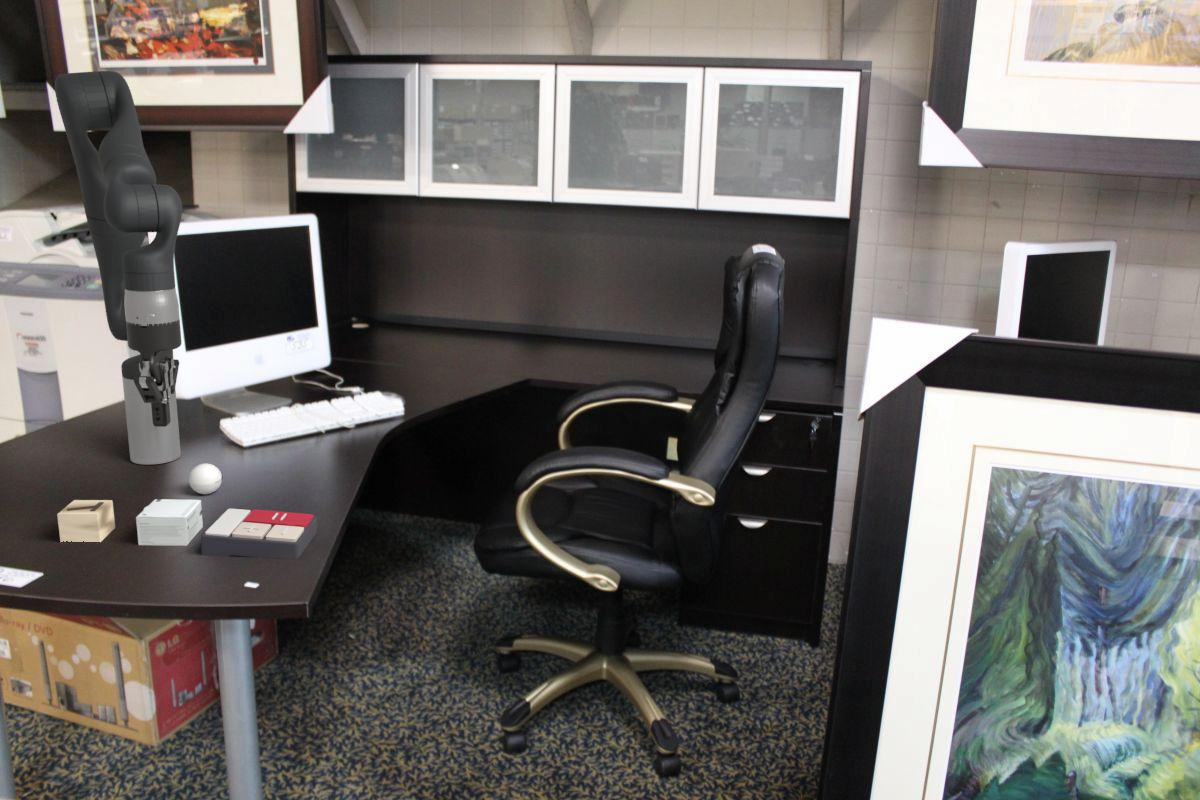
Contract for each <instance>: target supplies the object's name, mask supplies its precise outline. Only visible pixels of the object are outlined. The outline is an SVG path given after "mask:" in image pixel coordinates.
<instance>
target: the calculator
mask: <svg viewBox="0 0 1200 800" xmlns="http://www.w3.org/2000/svg"><path fill="white" fill-rule="evenodd" d="M317 532H318V517H317V516H315V515H314V514H311V513H303V512H300V513H299V512H292V511H291V512H290V511H289V512H288V511H280V510H278V511H277V510H268V509H267V510H265V509H253V510H251V509H240V508H239V509H238V508H227V509H226V510H225V511H224V512H223V513H222V514H220V516H219V517H217V519H216V520H214V522H213V523H212V524H211V525H210V526H208V528H207V529H206V530H205V531H204V532H203V533H202V534H201V538H200V540H201V541H200V544H201V546H200V549H201V550H200V551H201V556H203V557H204V556H205V557H207V556H208V557H230V556H237V557H248V558H263V559H288V560H289V559H290V560H295V559H299V558H300V556H301V555H302V553H303V552H304V551H305V550H306V548H307V546H308V545H309V544H310V542H311V541H312V540H313V538H314V536H315V535H316V534H317Z"/></svg>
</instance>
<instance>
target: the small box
mask: <svg viewBox="0 0 1200 800" xmlns="http://www.w3.org/2000/svg"><path fill="white" fill-rule="evenodd" d="M202 509H203V508H202V500H201V499H174V498H173V499H172V498H171V499H170V498H168V499H167V498H161V499H160V498H158V499H157V498H156V499H154V500H152V501H151V502H150V503H149V504H148V505H147V506H144V508H143V510H142V511H141V512H140V513H139V514H138V515H137V516H136V517H135V523H136V531H137V532H136V533H137V543H138V544H137V545H138V546H167V547H168V546H170V547H172V546H177V547H179V546H180V547H181V546H185V547H186V546H188V545H189V543H190V542H191V541H192V540H193V539H194V537H195V536H196V535H197V534H198V533H199V532H200V531H201V530H202V529H203V528H204V526H203V525H204V524H203V523H204V522H203V510H202Z"/></svg>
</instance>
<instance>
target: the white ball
mask: <svg viewBox="0 0 1200 800" xmlns="http://www.w3.org/2000/svg"><path fill="white" fill-rule="evenodd" d="M222 479H223V475H222V472H221V471H220V469H219V468H218V467H217V466H215V465H214V464H212V463H205V462H204V463H200V464H198V465H195V466H194V468H193V469H191V471H190V473H189V477H188V483H189V487H190V488H191V489H192V490H193V491H194V492H196V493H197V494H200V495H210V494H212V493H214V492H216V491H217V490H218V489H219V488H220V487H221V484H222V481H223V480H222Z"/></svg>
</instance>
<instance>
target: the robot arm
mask: <svg viewBox="0 0 1200 800" xmlns="http://www.w3.org/2000/svg"><path fill="white" fill-rule="evenodd" d="M54 92H55V98H56V103H57V106H58V109H59V114H60V116H61V120H62V123H63V126H64V131H65V133H66V136H67V140H68V144H69V146H70V151H71V154H72V158H73V161H74V165H75V169H76V173H77V177H78V183H79V187H80V192H81V197H82V202H83V208H84V212H85V217H86V220H87V221H86V222H87V226H88V231H89V233H90V237H91V242H92V245H93V248H94V249H93V250H94V253H95V256H96V260H97V264H98V269H99V274H100V280H101V288H102V294H103V300H104V302H103V303H104V307H105V314H106V315H105V316H106V320H107V325H108V328H109V331H110V333H111V336H112V337H113V338H114V339H116V340H118V341H123V342H127V346H128V348H129V350H131V351H134V352H135V351H136V352H138V353H139V354H138V355H134V356H130V357H129V358H126V359H125V360H123V362H122V363H121V366H120V367H121V377H122V389H123V399H124V408H125V420H126V428H127V439H128V450H129V458H130V462H132V463H134V464H137V465H145V466H147V465H159V464H165V463H170V462H174V461H176V460H177V459H179V458H180V457H181V456H182V455H181V445H180V444H181V442H180V430H179V417H178V405H177V393H176V392H177V391H176V385H177V384H176V383H177V378H178V373H179V366H180V360H179V359H174V351H173V350H175V349H178V348H180V347H181V346H182V334H181V333H182V331H181V321H180V320H181V318H180V308H179V307H180V304H179V298H178V295H177V290H176V278H175V263H174V261H175V260H174V259H175V258H174V257H175V251H176V250H175V249H176V242H177V239H178V233H179V230H180V224H181V222H182V221H181V220H182V215H183V204H182V202H183V201H182V199H181V197H180V195H179V193H178V191H176V190H175V189H174V188H173V187H172V186H170V185H167V184H157V177H156V176H157V175H156V172H155V170H154V168H153V165H152V163H151V160H150V159H149V156H148V154H147V152H146V149H145V146H144V141H143V137H142V132H141V126H140V122H139V121H140V120H139V118H138V112H137V110H136V106H135V103H134V98H133V95H132V92H131V89H130V86H129V85H128V82H127V80H126V79H125V77H124V76H123V75H122V74H121V73H119V72H117V71H113V70H97V71H84V72H83V71H82V72H69V73H61V74H59V75H57V76H56V78H55V81H54ZM99 130H108V132H107V133H106V134H105V136H104V137H103V139H102V140H101V142H100V144H99V147H98V150H97V148H96V147H95V146H94V144H93V143H92V142H91V139H90V138H89V136H88V132H90V131H99ZM147 233H156V234H155V236H154V238H153V240H152V241H150V243H148V244H146V245H143V244H144V241H145V239H146V235H147Z"/></svg>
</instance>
